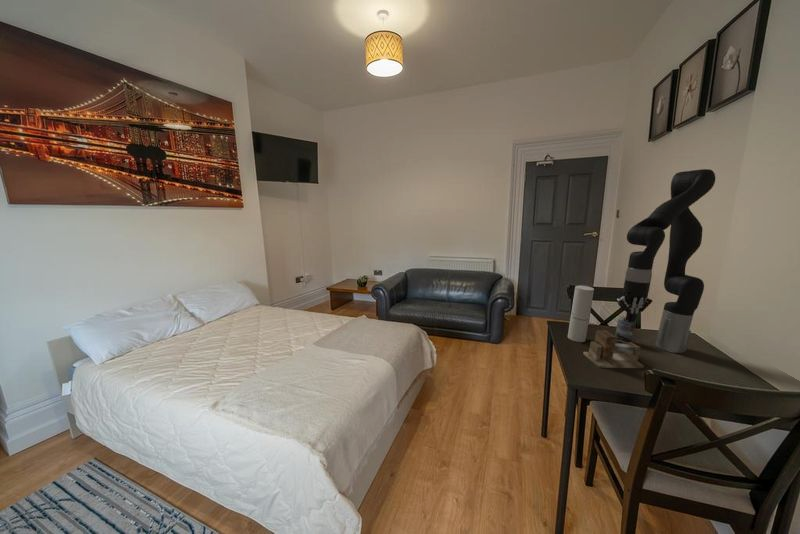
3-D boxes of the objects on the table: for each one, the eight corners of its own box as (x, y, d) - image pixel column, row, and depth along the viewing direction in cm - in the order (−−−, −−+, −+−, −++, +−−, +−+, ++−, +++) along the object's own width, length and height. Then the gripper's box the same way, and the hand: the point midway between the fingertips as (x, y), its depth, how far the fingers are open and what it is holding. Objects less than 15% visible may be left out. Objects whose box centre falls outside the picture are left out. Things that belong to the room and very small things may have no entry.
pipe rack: (623, 354, 118) (626, 338, 117) (643, 368, 108) (647, 351, 107) (583, 353, 118) (585, 338, 117) (599, 367, 109) (602, 350, 107)
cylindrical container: (580, 335, 135) (588, 285, 130) (588, 342, 128) (597, 290, 123) (564, 334, 136) (572, 285, 130) (572, 341, 129) (580, 289, 123)
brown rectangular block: (601, 351, 116) (605, 330, 114) (612, 359, 110) (616, 337, 108) (592, 351, 116) (596, 330, 114) (602, 359, 110) (607, 337, 108)
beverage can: (616, 343, 128) (621, 318, 125) (611, 336, 134) (616, 313, 132) (633, 346, 125) (639, 321, 123) (627, 338, 132) (632, 315, 129)
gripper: (646, 276, 110) (639, 317, 114) (613, 277, 110) (606, 317, 114) (664, 281, 103) (655, 325, 107) (628, 282, 103) (620, 325, 107)
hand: (630, 321), depth 111 cm, fingers closed
